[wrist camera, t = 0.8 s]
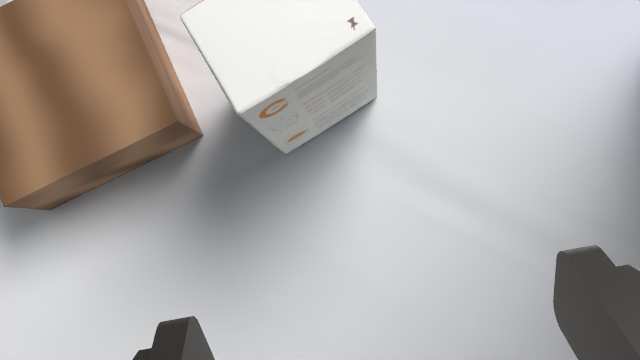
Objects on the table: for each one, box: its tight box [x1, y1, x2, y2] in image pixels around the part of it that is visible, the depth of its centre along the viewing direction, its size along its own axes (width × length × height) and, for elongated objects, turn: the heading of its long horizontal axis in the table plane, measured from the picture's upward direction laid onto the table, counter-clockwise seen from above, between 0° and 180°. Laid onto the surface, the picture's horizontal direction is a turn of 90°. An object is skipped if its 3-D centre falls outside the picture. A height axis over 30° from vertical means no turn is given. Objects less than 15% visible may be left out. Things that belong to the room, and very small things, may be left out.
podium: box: [0, 0, 203, 210], centre depth 38 cm, size 13×13×5 cm
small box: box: [180, 0, 377, 154], centre depth 33 cm, size 8×6×13 cm
